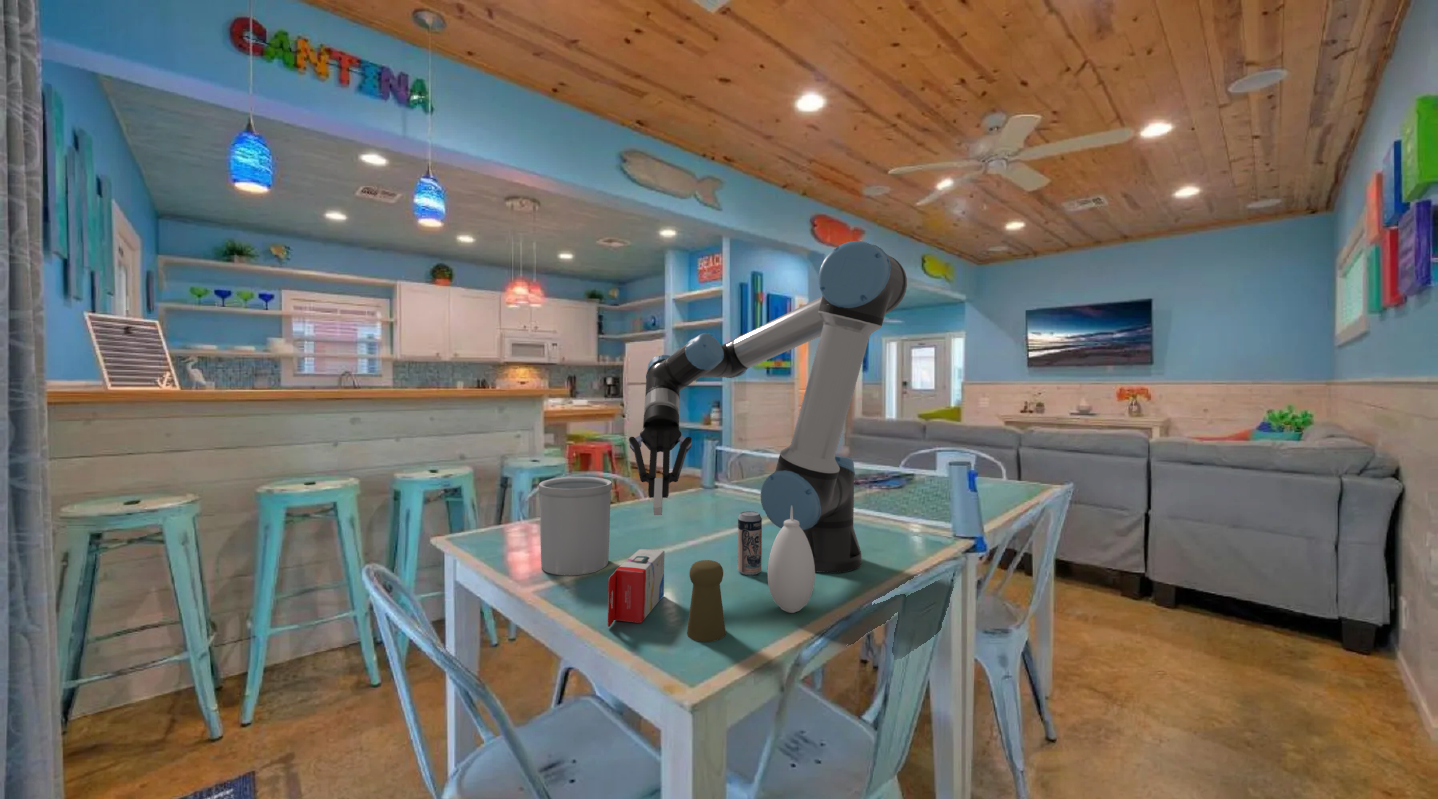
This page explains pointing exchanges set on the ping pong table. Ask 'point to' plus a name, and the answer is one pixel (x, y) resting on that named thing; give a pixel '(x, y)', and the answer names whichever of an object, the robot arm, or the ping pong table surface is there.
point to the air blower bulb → (791, 567)
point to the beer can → (749, 543)
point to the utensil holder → (574, 524)
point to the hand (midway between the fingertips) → (657, 511)
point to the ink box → (636, 586)
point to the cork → (706, 602)
